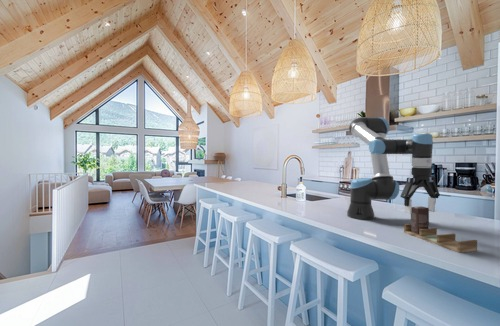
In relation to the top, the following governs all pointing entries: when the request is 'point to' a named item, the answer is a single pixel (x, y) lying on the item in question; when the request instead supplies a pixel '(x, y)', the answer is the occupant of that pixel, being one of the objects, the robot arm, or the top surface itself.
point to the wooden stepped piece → (443, 239)
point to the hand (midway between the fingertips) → (419, 212)
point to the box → (419, 219)
